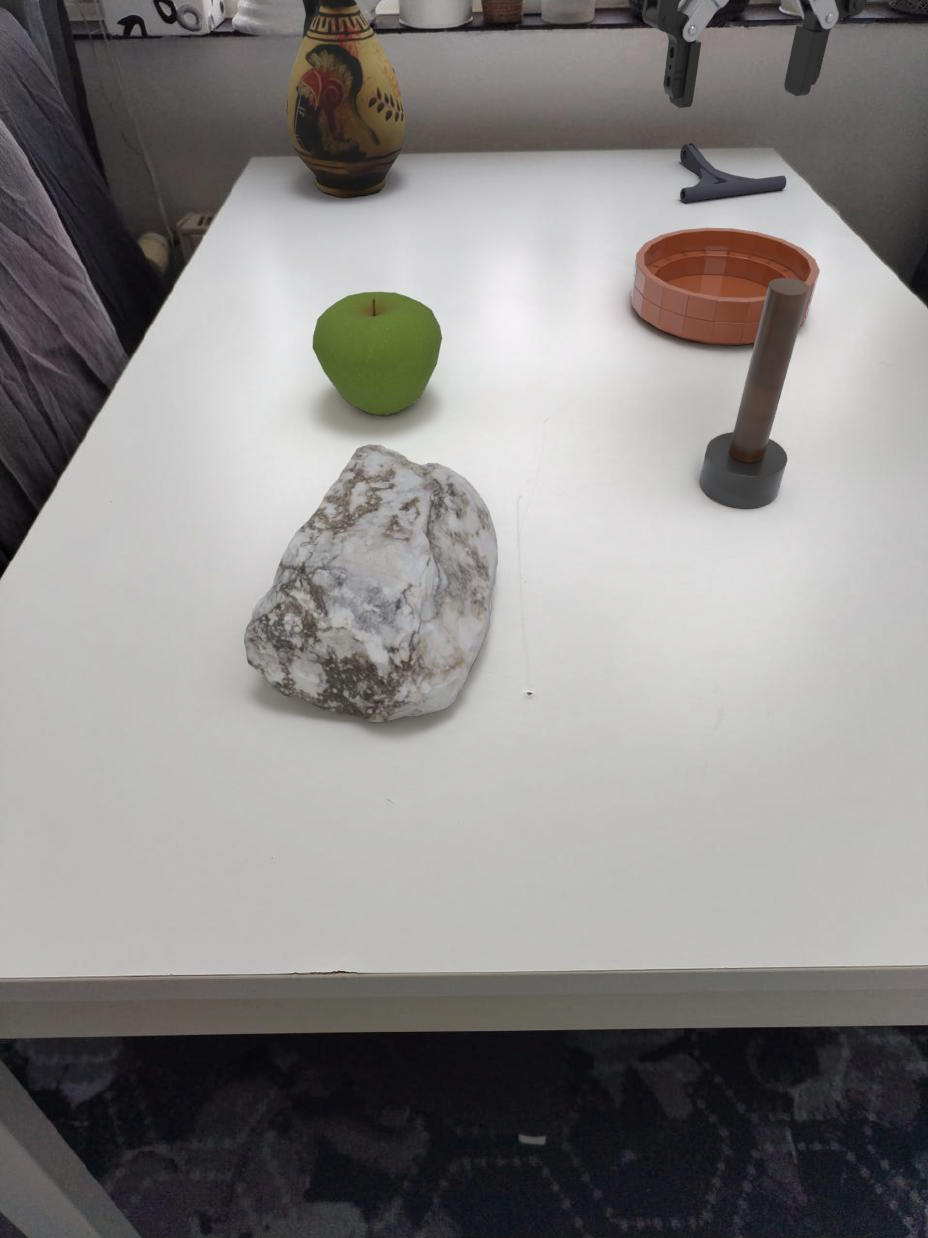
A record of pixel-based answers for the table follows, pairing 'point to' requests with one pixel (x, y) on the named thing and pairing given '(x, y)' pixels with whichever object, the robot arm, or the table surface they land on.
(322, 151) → the ceramic jug
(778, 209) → the table surface
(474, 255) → the table surface
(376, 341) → the apple
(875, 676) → the table surface
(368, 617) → the decorative stone
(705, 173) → the bracket
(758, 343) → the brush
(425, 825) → the table surface
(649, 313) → the bowl
